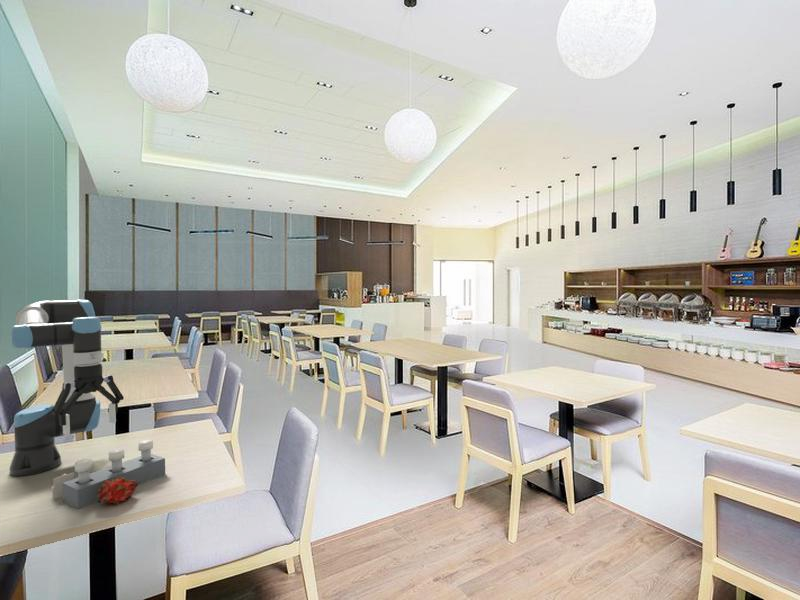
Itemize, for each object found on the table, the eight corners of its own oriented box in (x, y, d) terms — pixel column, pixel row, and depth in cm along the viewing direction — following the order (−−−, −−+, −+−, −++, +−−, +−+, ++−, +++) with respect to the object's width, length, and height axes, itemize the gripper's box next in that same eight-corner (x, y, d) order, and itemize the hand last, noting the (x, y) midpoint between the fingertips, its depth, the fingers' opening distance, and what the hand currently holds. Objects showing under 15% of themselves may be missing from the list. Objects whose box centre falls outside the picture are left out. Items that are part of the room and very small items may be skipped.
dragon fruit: (92, 513, 134) (135, 504, 143) (101, 504, 130) (144, 495, 139) (90, 486, 138) (132, 479, 147) (99, 476, 134) (141, 469, 143)
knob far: (136, 464, 156) (135, 442, 156) (149, 459, 160) (148, 438, 160) (143, 467, 154) (142, 445, 154) (156, 462, 158) (155, 441, 158)
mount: (63, 501, 139) (62, 482, 139) (149, 468, 163) (149, 453, 163) (78, 508, 134) (77, 489, 134) (165, 474, 158) (164, 458, 158)
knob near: (72, 487, 139) (71, 462, 139) (88, 481, 143) (87, 457, 143) (79, 490, 137) (78, 465, 136) (95, 484, 141) (94, 460, 140)
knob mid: (106, 475, 148) (105, 452, 147) (120, 470, 152) (119, 447, 151) (113, 478, 145) (112, 454, 145) (127, 472, 149) (126, 450, 149)
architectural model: (50, 497, 142) (50, 475, 142) (76, 489, 148) (75, 468, 147) (53, 501, 140) (52, 478, 140) (79, 492, 146) (78, 471, 145)
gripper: (48, 372, 127) (50, 442, 128) (133, 359, 149) (135, 419, 150) (36, 370, 131) (38, 438, 132) (121, 357, 153) (123, 416, 154)
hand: (90, 428), depth 141 cm, fingers open, 13 cm apart
